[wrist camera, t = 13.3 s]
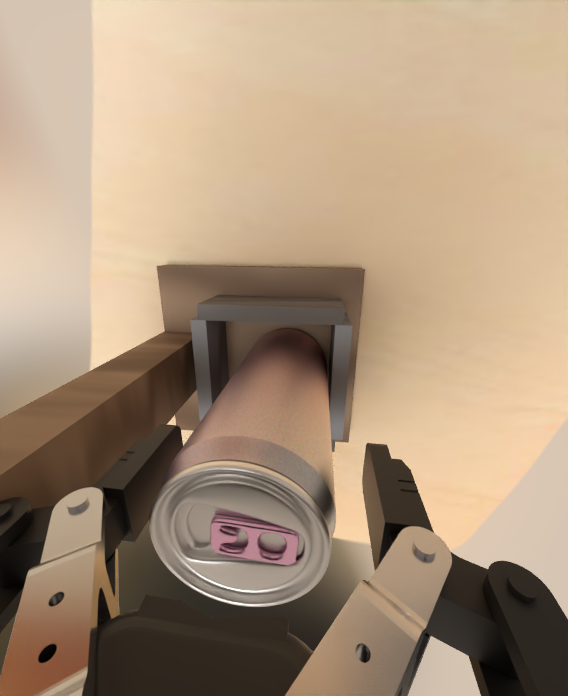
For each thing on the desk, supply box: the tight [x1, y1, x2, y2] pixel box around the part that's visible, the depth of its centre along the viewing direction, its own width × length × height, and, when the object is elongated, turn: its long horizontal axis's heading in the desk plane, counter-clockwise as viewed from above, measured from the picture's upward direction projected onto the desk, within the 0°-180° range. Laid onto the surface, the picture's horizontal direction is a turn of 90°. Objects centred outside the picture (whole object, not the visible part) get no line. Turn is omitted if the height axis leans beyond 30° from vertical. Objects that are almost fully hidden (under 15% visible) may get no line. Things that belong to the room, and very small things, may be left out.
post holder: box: [0, 265, 365, 509], centre depth 16 cm, size 14×15×18 cm
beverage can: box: [149, 329, 336, 607], centre depth 16 cm, size 6×6×15 cm
